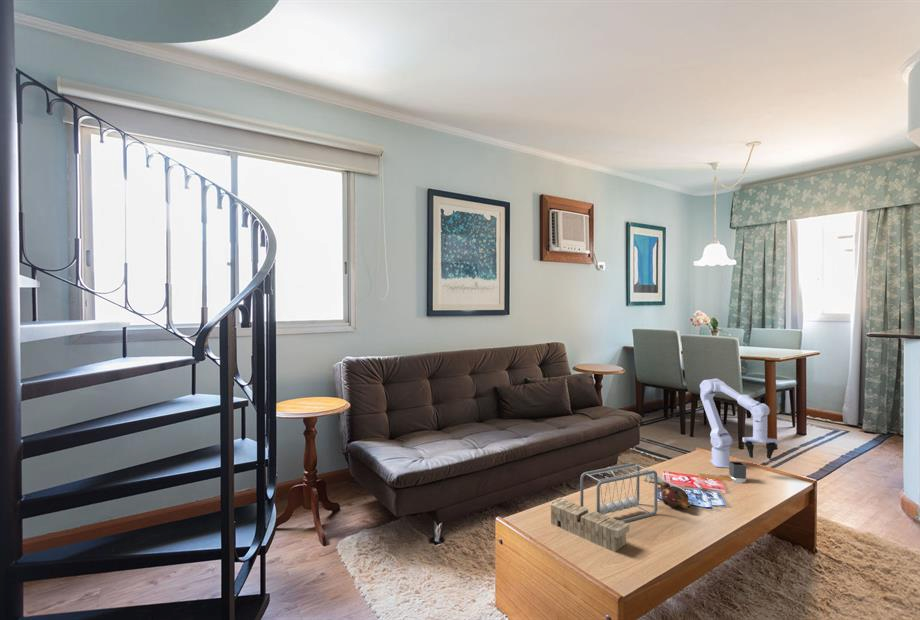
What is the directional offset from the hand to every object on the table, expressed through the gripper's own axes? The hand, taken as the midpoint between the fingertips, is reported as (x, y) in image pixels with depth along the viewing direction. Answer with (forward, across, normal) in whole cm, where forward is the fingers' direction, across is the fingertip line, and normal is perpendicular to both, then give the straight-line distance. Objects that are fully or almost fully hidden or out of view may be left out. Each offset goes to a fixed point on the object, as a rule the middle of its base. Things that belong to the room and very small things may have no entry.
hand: (759, 457), depth 212 cm
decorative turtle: (+10, -48, -40) cm, 63 cm away
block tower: (+10, -86, -70) cm, 111 cm away
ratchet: (+10, -19, -6) cm, 22 cm away
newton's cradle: (+10, -72, -54) cm, 90 cm away
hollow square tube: (+8, -12, -6) cm, 15 cm away
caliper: (+10, -47, -21) cm, 52 cm away
